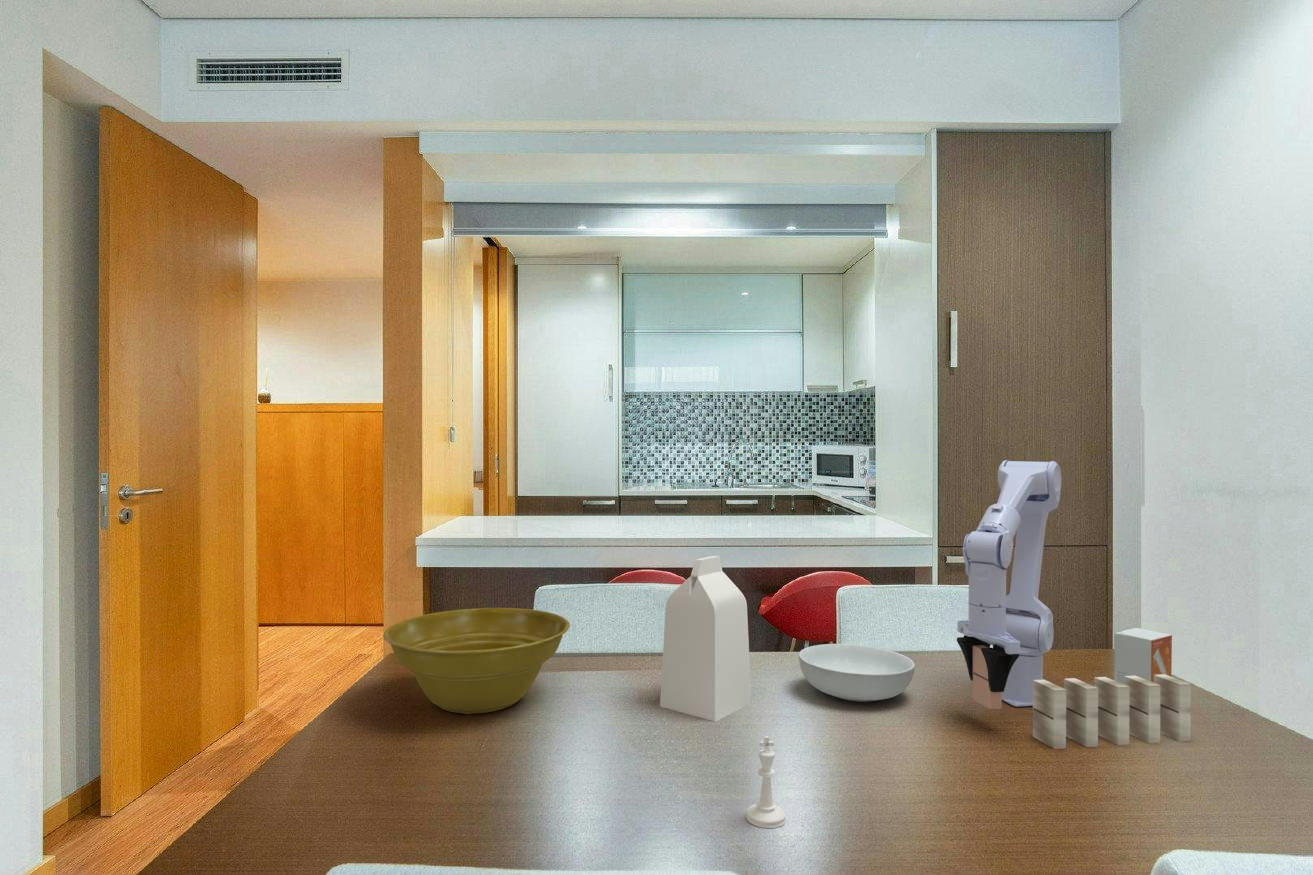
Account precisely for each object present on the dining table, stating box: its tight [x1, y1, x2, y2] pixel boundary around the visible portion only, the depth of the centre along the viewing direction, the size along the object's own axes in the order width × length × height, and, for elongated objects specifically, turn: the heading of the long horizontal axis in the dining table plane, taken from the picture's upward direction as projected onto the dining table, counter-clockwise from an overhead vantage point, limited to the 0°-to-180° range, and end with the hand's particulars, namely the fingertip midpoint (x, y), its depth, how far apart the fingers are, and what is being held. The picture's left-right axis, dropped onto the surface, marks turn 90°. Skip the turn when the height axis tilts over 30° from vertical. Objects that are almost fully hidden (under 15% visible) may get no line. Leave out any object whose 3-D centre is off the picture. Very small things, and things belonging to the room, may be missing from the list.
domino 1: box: [1032, 679, 1067, 750], centre depth 118 cm, size 5×2×9 cm, turn 9°
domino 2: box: [1063, 677, 1099, 748], centre depth 118 cm, size 5×2×9 cm, turn 9°
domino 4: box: [1124, 676, 1161, 744], centre depth 120 cm, size 5×2×9 cm, turn 9°
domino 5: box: [1154, 674, 1192, 742], centre depth 121 cm, size 5×2×9 cm, turn 9°
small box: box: [1113, 627, 1173, 684], centre depth 135 cm, size 8×6×13 cm
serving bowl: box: [798, 643, 916, 703], centre depth 140 cm, size 21×21×7 cm
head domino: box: [972, 645, 1003, 710], centre depth 125 cm, size 5×2×9 cm, turn 9°
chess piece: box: [745, 735, 787, 829], centre depth 92 cm, size 5×5×10 cm
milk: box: [659, 555, 752, 722], centre depth 133 cm, size 12×12×26 cm
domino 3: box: [1093, 676, 1130, 746], centre depth 119 cm, size 5×2×9 cm, turn 9°
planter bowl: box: [383, 607, 571, 714], centre depth 134 cm, size 32×32×13 cm
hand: (986, 685), depth 125 cm, fingers closed on head domino, 5 cm apart
